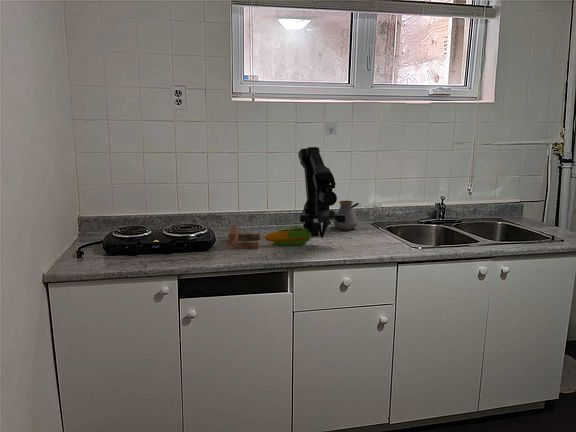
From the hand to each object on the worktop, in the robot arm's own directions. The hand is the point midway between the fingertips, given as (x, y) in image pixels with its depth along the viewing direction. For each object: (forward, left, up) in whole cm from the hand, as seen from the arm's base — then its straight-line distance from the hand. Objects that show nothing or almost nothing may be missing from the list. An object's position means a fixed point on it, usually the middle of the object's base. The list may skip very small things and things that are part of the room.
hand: (321, 237), depth 203 cm
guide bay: (+32, 0, -2) cm, 32 cm away
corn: (+14, +1, -3) cm, 15 cm away
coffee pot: (-15, -23, -3) cm, 27 cm away
